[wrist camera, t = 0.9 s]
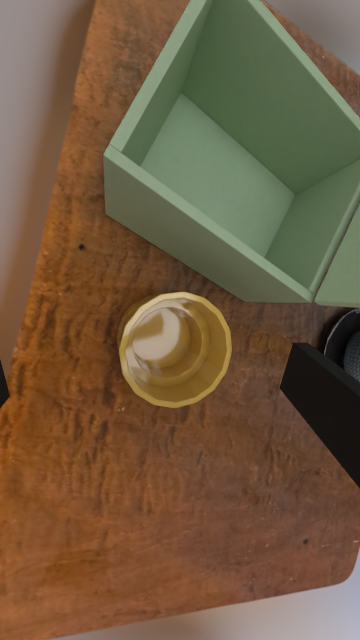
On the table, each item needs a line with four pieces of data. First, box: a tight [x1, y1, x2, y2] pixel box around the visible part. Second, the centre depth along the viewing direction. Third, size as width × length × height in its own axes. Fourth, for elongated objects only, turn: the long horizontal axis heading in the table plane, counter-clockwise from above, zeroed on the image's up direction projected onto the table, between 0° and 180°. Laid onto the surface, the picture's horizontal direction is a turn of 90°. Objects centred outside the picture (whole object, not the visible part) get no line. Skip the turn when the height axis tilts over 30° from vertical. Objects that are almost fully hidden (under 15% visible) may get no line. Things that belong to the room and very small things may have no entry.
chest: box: [103, 0, 360, 303], centre depth 21 cm, size 19×16×10 cm
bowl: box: [116, 292, 232, 408], centre depth 22 cm, size 9×9×8 cm
